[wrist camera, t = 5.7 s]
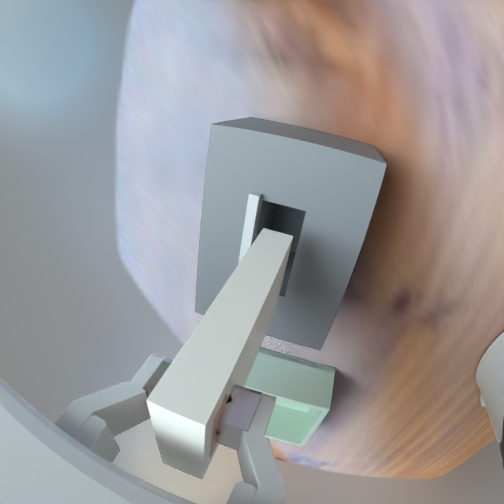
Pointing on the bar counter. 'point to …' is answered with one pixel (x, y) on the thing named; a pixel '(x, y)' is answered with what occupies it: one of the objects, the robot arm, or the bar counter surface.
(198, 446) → the pale bar
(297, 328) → the block
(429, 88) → the bar counter surface
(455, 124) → the bar counter surface
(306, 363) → the stub box
